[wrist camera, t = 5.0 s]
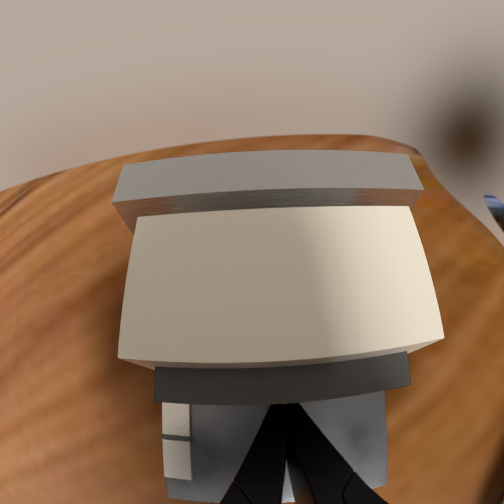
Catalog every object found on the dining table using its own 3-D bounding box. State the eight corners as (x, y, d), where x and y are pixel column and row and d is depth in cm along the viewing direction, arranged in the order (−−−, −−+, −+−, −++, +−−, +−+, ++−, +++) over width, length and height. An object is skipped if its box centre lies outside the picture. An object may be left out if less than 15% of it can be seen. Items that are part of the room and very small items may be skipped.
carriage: (351, 391, 13) (449, 375, 5) (153, 397, 14) (41, 382, 6) (342, 303, 16) (408, 206, 8) (157, 310, 16) (71, 223, 8)
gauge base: (380, 481, 11) (467, 526, 4) (173, 493, 12) (96, 553, 4) (357, 253, 19) (407, 154, 11) (176, 261, 19) (123, 164, 11)
